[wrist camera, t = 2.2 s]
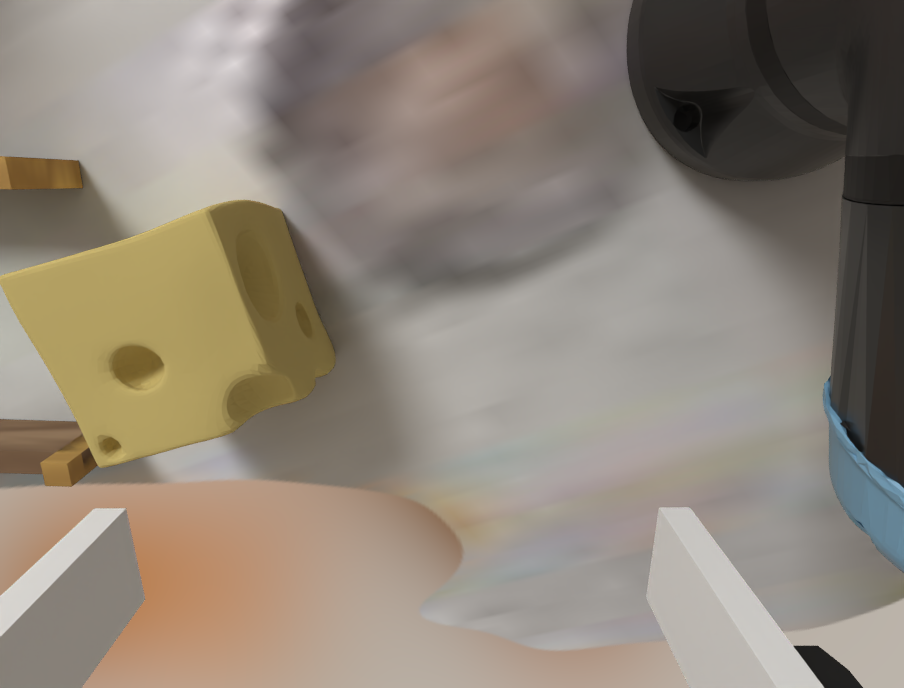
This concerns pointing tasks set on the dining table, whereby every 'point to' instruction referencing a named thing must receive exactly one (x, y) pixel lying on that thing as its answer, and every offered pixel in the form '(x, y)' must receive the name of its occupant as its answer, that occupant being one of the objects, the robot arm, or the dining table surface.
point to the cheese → (176, 329)
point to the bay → (30, 441)
